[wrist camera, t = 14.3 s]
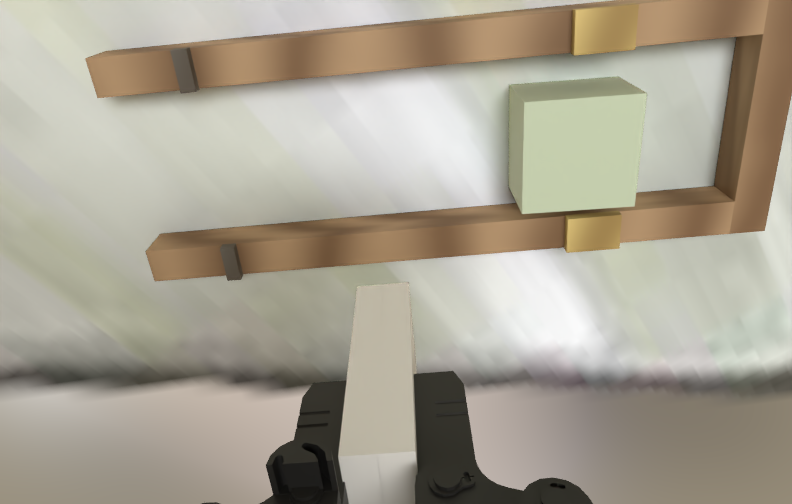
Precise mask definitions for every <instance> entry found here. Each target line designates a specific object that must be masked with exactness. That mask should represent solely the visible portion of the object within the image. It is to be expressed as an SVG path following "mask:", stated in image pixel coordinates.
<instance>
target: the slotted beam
mask: <svg viewBox="0 0 792 504" xmlns="http://www.w3.org/2000/svg"><path fill="white" fill-rule="evenodd" d="M728 37H736V44H735V50H734V57H733V64H732V70H731V77H730V83H729V90H728V97H727V103H726V110H725V117H724V123H723V130H722V136H721V143H720V150H719V156H718V163H717V169H716V176H715V183H714V186H709V187H698V188H686V189H675V190H663V191H651V192H640V193H636V199H635V206H633V207H619V208H604V209H590V210H575V211H560V212H546V213H531V214H522V213H521V211H520V209H519V207H518V205H517V203H512V204H500V205H489V206H477V207H466V208H454V209H442V210H431V211H419V212H407V213H396V214H384V215H373V216H361V217H349V218H338V219H326V220H315V221H303V222H291V223H280V224H268V225H256V226H245V227H233V228H222V229H210V230H198V231H187V232H175V233H164V234H160V235H159V236H158V237H157V239H156V240H155V241H154V242H153V243H152V245H151V246H150V247H149V248H148V249H147V251H146V255H147V258H148V261H149V264H150V267H151V271H152V274H153V277H154V280H155V281H164V280H176V279H188V278H200V277H212V276H224V275H226V276H227V280H228V281H229V280H241V278H242V276H243V274H248V273H260V272H272V271H284V270H296V269H308V268H321V267H333V266H345V265H357V264H369V263H381V262H393V261H405V260H417V259H429V258H441V257H453V256H466V255H478V254H490V253H502V252H514V251H526V250H538V249H550V248H562V247H564V249H565V250H566V252H567V253H569V252H581V251H593V250H606V249H618V248H619V246H620V243H623V242H635V241H647V240H659V239H671V238H683V237H695V236H707V235H719V234H731V233H743V232H755V231H765V226H766V221H767V216H768V211H769V206H770V201H771V196H772V191H773V186H774V181H775V176H776V171H777V166H778V161H779V156H780V150H781V145H782V140H783V135H784V130H785V125H786V120H787V115H788V110H789V105H790V100H791V95H792V0H615V1H605V2H595V3H585V4H575V5H565V6H555V7H545V8H535V9H524V10H514V11H504V12H494V13H484V14H474V15H464V16H454V17H444V18H434V19H424V20H414V21H404V22H394V23H384V24H374V25H363V26H353V27H343V28H333V29H323V30H313V31H303V32H293V33H283V34H273V35H263V36H253V37H243V38H233V39H223V40H212V41H202V42H192V43H182V44H172V45H162V46H152V47H142V48H132V49H122V50H112V51H105V52H102V53H99V54H97V55H94V56H91V57H88V58H85V59H86V62H87V66H88V69H89V72H90V75H91V78H92V82H93V85H94V88H95V91H96V94H97V98H104V97H114V96H125V95H135V94H146V93H156V92H166V91H177V90H180V92H181V93H189V92H197V91H198V90H199V88H208V87H219V86H229V85H239V84H250V83H260V82H271V81H281V80H291V79H302V78H312V77H323V76H333V75H343V74H354V73H364V72H375V71H385V70H395V69H406V68H416V67H427V66H437V65H447V64H458V63H468V62H479V61H489V60H500V59H510V58H520V57H531V56H541V55H552V54H562V53H571V54H572V55H585V54H595V53H606V52H616V51H627V50H635V47H636V46H645V45H656V44H666V43H676V42H687V41H697V40H708V39H718V38H728Z"/></svg>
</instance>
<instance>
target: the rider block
mask: <svg viewBox="0 0 792 504" xmlns="http://www.w3.org/2000/svg"><path fill="white" fill-rule="evenodd" d="M646 99H647V93H646V92H644V91H642V90H641V89H639V88H637V87H635V86H634V85H632V84H630V83H628V82H627V81H625V80H623V79H621V78H620V77H605V78H592V79H578V80H565V81H552V82H539V83H525V84H512V85H509V178H508V186H509V188H510V190H511V192H512V194H513V196H514V198H515V201H516V203H517V205H518V207H519V209H520V211H521V213H522V214H531V213H546V212H560V211H575V210H590V209H604V208H619V207H633V206H635V199H636V190H637V181H638V171H639V162H640V153H641V144H642V135H643V126H644V117H645V108H646Z"/></svg>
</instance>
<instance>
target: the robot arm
mask: <svg viewBox="0 0 792 504" xmlns="http://www.w3.org/2000/svg"><path fill="white" fill-rule="evenodd" d="M266 468H267V472H268V476H269V479H270V483H271V487H272V491H273V496H271V497H270V498H268V499H267V500H265V501H264V502H262V503H260V504H593V503H592V502H591V500H590V499H589V497H588V496H587V495H586V494H585V493H584V492H583V491H582V490H581V489H580V488H579V487H578V486H576V485H574V484H572V483H571V482H569V481H566V480H562V479H557V478H545V479H539V480H537V481H535V482H533V483H531V484H529V485H528V486H527V487H526V489H525V490H524V491H522V490H517V489H512V488H508V487H505V486H501V485H498V484H496V483H495V482H493V481H491V480H489V479H488V478H487V477H486V476H485V475H484V474H482V472H481V471H480V469H479V468H478V466H477V463H476V460H475V454H474V448H473V441H472V434H471V428H470V422H469V416H468V409H467V403H466V396H465V390H464V384H463V383H462V381H461V380H460V379H459V378H458V376H457V375H456V374H455V373H454V372H453V371H448V372H435V373H422V374H417V370H416V354H415V344H414V333H413V323H412V313H411V302H410V292H409V282H405V283H392V284H380V285H368V286H357V292H356V301H355V310H354V319H353V328H352V337H351V346H350V355H349V364H348V373H347V380H346V381H333V382H320V383H313V384H312V386H311V387H310V388H309V390H308V391H307V392H306V394H305V395H304V396H303V398H302V404H301V408H300V416H299V418H298V423H297V429H296V432H295V437H294V440H293V441H290V442H288V443H286V444H284V445H282V446H280V447H279V448H278V449H277V450H276V451H275V452H274V453H273V454H272V455H271V456H270V458H269V460H268V462H267V464H266ZM202 504H219V503H202Z"/></svg>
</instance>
